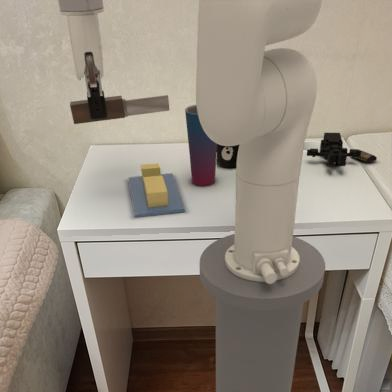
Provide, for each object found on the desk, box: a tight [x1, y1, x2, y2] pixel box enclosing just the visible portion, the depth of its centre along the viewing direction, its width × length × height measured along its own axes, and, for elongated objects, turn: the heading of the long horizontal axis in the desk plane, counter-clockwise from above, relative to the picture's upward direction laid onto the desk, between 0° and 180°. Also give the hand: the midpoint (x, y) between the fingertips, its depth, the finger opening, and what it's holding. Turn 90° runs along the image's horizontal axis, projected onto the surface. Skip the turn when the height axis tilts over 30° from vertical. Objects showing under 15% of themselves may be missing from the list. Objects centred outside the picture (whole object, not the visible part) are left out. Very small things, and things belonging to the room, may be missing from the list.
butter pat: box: [140, 162, 162, 182], centre depth 109 cm, size 2×4×3 cm, turn 100°
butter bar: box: [143, 175, 168, 207], centre depth 101 cm, size 8×4×3 cm, turn 10°
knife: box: [69, 94, 171, 125], centre depth 97 cm, size 2×19×4 cm, turn 100°
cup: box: [184, 104, 217, 187], centre depth 105 cm, size 7×7×15 cm
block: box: [354, 148, 378, 162], centre depth 116 cm, size 4×6×2 cm, turn 30°
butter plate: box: [127, 172, 186, 218], centre depth 105 cm, size 18×10×1 cm, turn 10°
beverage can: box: [216, 144, 240, 169], centre depth 113 cm, size 7×7×12 cm
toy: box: [306, 132, 362, 167], centre depth 114 cm, size 12×5×15 cm
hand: (98, 115), depth 98 cm, fingers closed on knife, 2 cm apart
